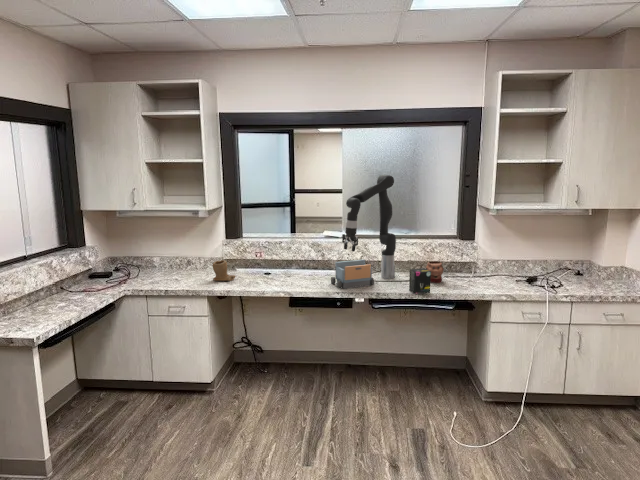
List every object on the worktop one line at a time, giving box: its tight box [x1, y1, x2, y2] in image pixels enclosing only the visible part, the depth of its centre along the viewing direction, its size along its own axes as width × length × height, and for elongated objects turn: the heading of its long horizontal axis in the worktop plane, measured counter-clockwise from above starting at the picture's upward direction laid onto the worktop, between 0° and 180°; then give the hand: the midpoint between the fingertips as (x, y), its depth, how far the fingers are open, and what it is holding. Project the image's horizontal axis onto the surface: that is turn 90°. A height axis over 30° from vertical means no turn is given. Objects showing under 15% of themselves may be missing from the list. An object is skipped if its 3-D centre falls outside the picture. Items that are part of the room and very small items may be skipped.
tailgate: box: [345, 263, 372, 280], centre depth 281 cm, size 19×2×9 cm, turn 110°
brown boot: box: [211, 259, 236, 282], centre depth 304 cm, size 15×12×15 cm
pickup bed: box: [330, 259, 375, 290], centre depth 290 cm, size 26×17×16 cm, turn 110°
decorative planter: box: [425, 260, 444, 284], centre depth 296 cm, size 20×12×14 cm, turn 177°
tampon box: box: [408, 267, 432, 295], centre depth 270 cm, size 11×9×15 cm
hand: (349, 250), depth 287 cm, fingers open, 8 cm apart
